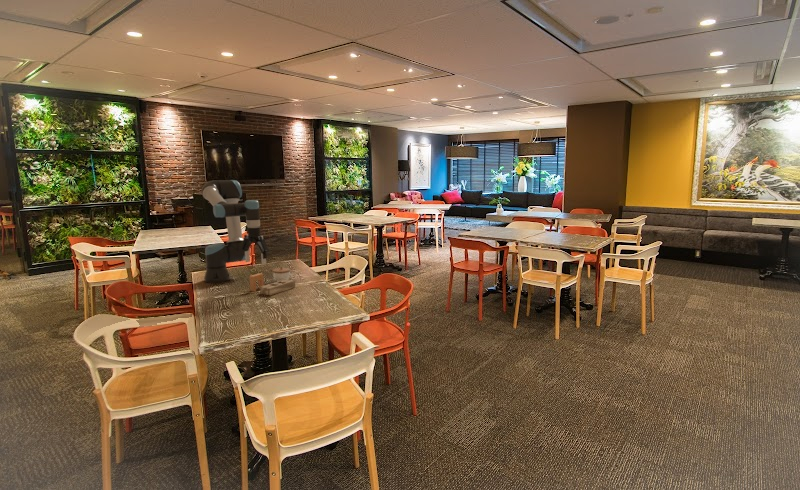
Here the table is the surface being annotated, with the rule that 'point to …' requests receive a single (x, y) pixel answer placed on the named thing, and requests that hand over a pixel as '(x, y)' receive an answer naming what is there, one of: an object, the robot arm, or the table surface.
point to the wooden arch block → (253, 280)
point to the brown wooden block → (277, 287)
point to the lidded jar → (281, 274)
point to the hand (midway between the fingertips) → (255, 263)
